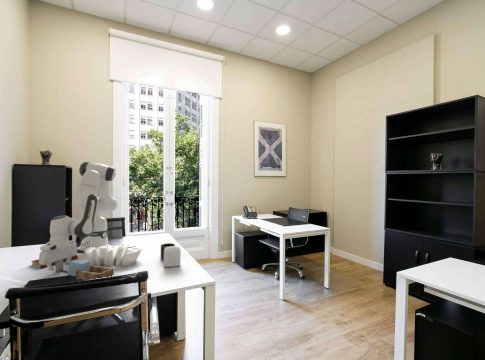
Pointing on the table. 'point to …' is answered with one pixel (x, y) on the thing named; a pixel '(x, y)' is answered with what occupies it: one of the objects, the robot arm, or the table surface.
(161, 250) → the mug
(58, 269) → the tethered block
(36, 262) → the hardcover book
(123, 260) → the wavy white extrusion
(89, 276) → the wooden tray
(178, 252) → the photo printer
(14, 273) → the table surface
